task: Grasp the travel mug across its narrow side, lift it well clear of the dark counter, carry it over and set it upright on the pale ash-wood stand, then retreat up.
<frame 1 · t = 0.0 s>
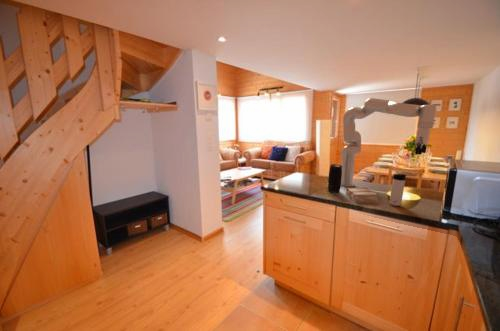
hand: (420, 153, 141), 31 cm above the worktop, tool pointing down, fingers open, 9 cm apart
travel mug: (395, 205, 140), on the worktop
portable speaker: (333, 191, 164), on the worktop
wood stand: (360, 198, 150), on the worktop
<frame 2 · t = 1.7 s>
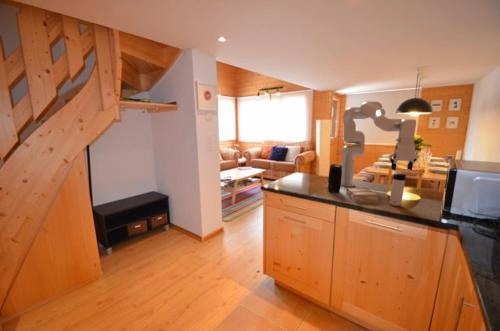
hand: (401, 169, 135), 23 cm above the worktop, tool pointing down, fingers open, 9 cm apart
nothing on the worktop moved.
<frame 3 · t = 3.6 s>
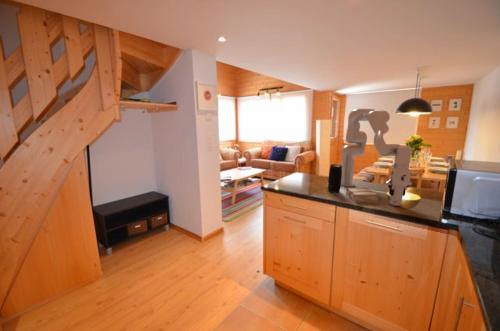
hand: (396, 194, 138), 7 cm above the worktop, tool pointing down, fingers closed on travel mug, 6 cm apart
travel mug: (395, 205, 140), on the worktop, touching gripper
everything else where it was.
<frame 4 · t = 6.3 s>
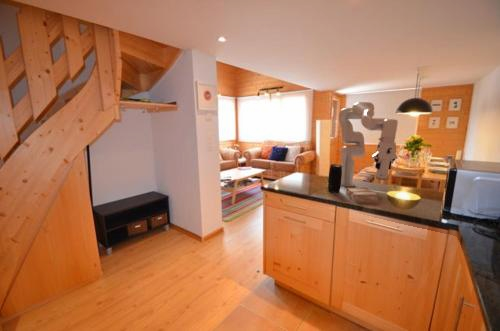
hand: (382, 168, 140), 22 cm above the worktop, tool pointing down, fingers closed on travel mug, 6 cm apart
travel mug: (381, 179, 142), point 15 cm above the worktop, touching gripper
everything else where it was.
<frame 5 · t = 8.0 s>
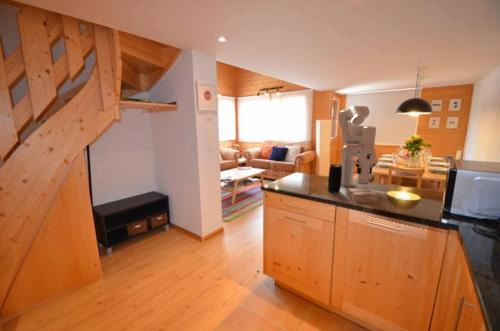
hand: (364, 173, 147), 17 cm above the worktop, tool pointing down, fingers closed on travel mug, 6 cm apart
travel mug: (362, 183, 148), point 10 cm above the worktop, touching gripper
everything else where it was.
when the fingers open (13 cm above the worktop, at t = 9.2 s): travel mug drops 1 cm, resting on wood stand.
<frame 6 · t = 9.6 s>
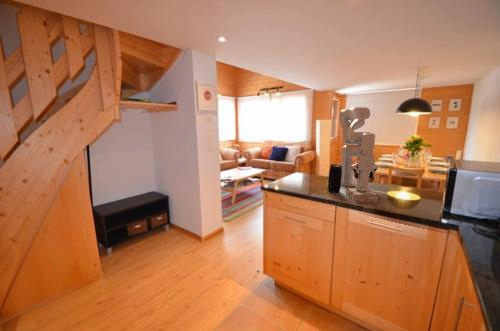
hand: (363, 178, 147), 14 cm above the worktop, tool pointing down, fingers open, 9 cm apart
travel mug: (361, 191, 150), point 5 cm above the worktop, touching wood stand
everything else where it was.
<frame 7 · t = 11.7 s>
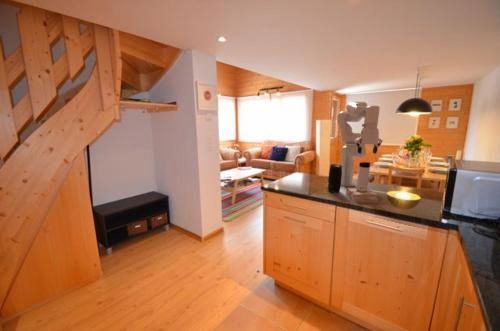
hand: (366, 153, 145), 30 cm above the worktop, tool pointing down, fingers open, 9 cm apart
nothing on the worktop moved.
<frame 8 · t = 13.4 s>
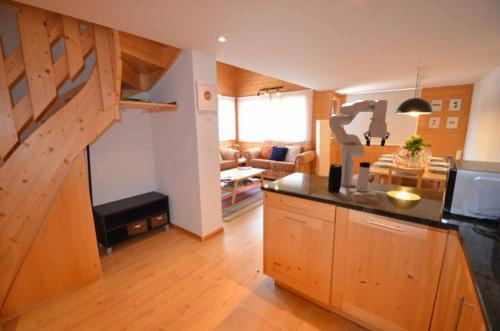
hand: (375, 146, 150), 34 cm above the worktop, tool pointing down, fingers open, 9 cm apart
nothing on the worktop moved.
at the end: travel mug inside the target area on the wood stand (0.2 cm from its centre), point 4.8 cm above the wood stand's base; travel mug tilted 0°; the gripper is holding nothing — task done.
